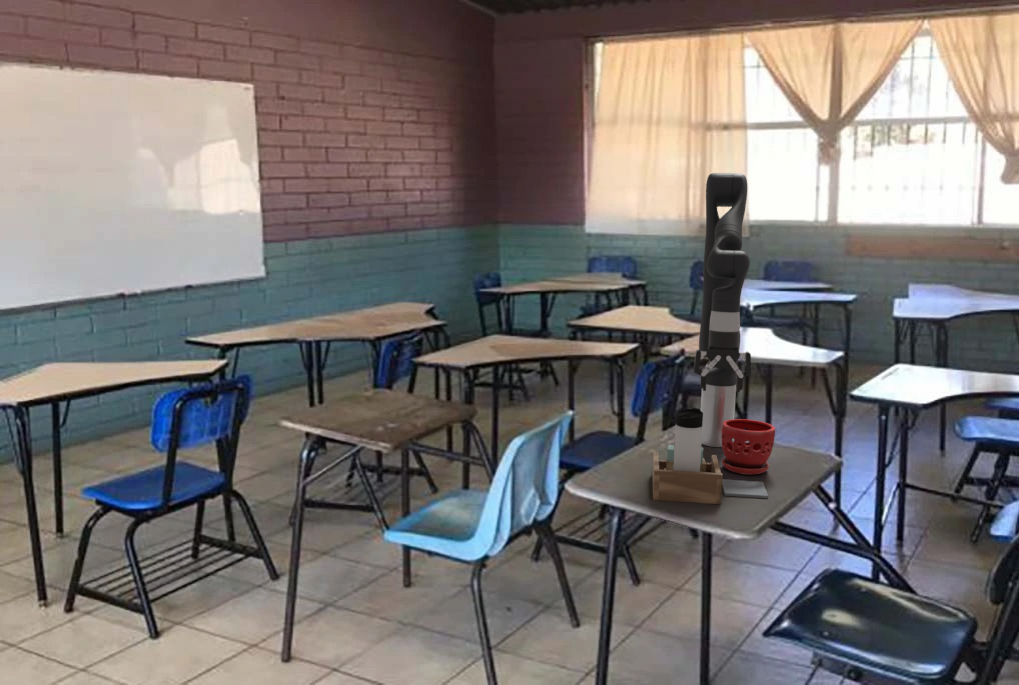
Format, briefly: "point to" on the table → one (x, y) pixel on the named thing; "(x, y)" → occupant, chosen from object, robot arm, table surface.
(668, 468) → the offcut mid
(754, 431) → the plant pot
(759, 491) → the mat
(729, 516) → the table surface
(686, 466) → the travel mug
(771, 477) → the table surface
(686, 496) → the wooden box
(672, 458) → the offcut top
